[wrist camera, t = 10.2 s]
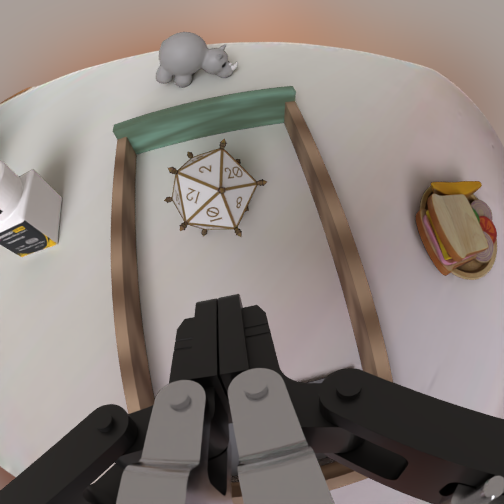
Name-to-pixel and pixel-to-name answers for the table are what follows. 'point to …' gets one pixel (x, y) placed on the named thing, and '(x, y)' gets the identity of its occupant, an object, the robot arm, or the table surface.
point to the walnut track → (326, 200)
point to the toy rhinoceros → (190, 59)
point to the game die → (212, 191)
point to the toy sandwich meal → (457, 229)
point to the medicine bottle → (27, 212)
